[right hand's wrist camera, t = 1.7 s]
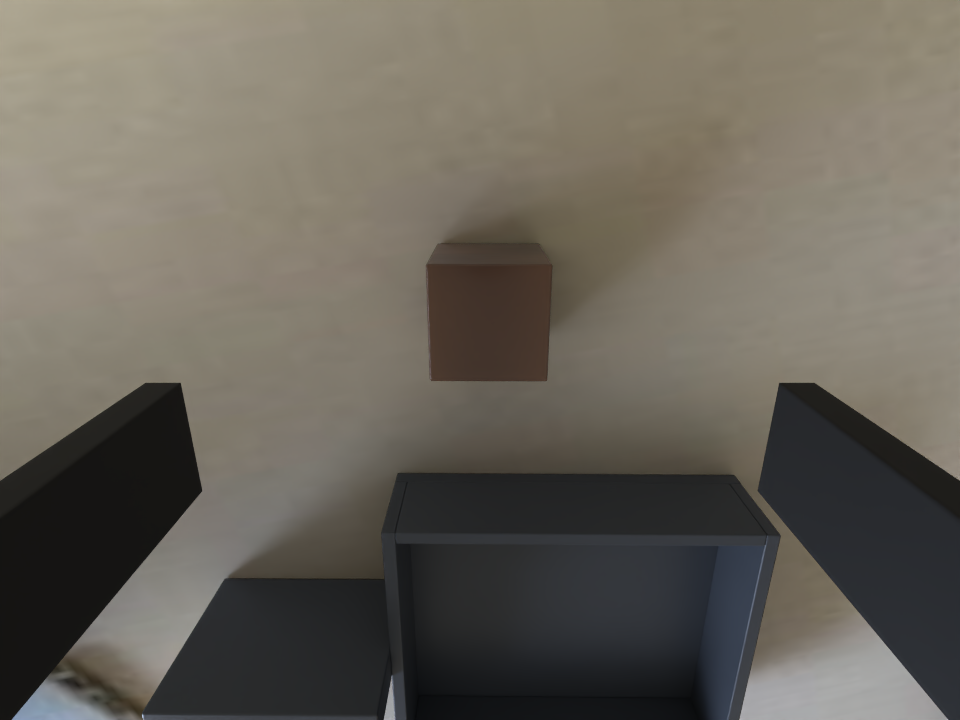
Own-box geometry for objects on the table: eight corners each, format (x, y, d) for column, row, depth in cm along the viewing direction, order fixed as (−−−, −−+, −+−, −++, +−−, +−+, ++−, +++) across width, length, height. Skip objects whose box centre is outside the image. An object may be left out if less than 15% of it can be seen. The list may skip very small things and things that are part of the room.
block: (539, 243, 24) (552, 264, 20) (536, 340, 26) (547, 381, 21) (437, 243, 24) (425, 264, 20) (439, 340, 26) (429, 381, 21)
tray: (734, 474, 28) (824, 590, 21) (694, 692, 33) (754, 847, 26) (203, 471, 28) (102, 584, 21) (246, 688, 34) (178, 840, 26)
